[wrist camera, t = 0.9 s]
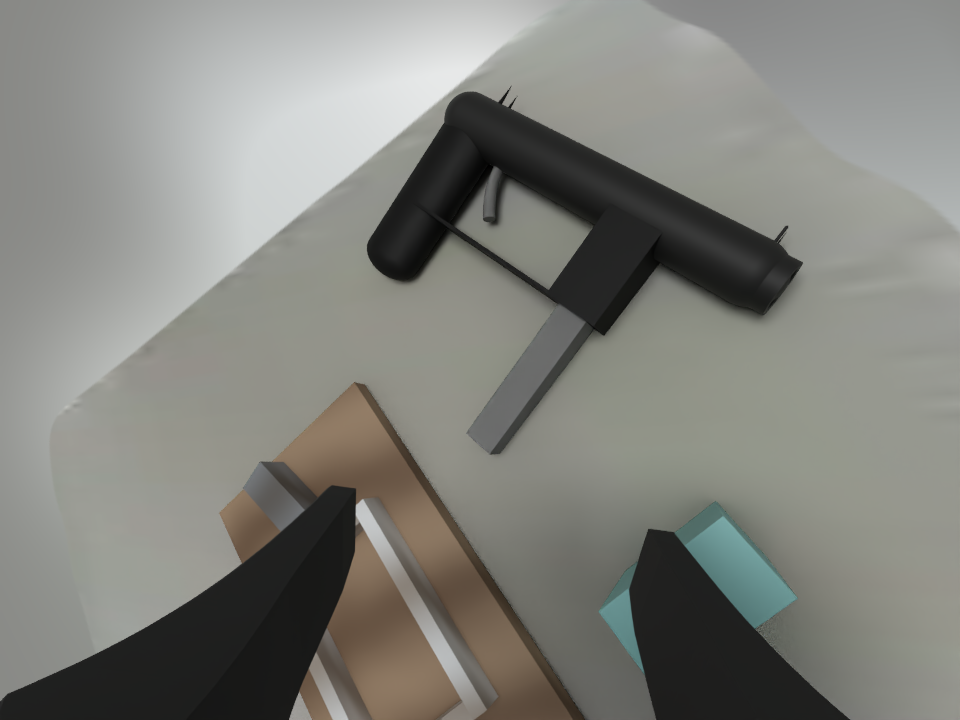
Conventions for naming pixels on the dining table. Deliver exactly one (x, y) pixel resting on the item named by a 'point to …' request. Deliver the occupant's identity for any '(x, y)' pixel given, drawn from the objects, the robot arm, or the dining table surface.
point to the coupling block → (712, 575)
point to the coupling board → (397, 586)
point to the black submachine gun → (598, 261)
